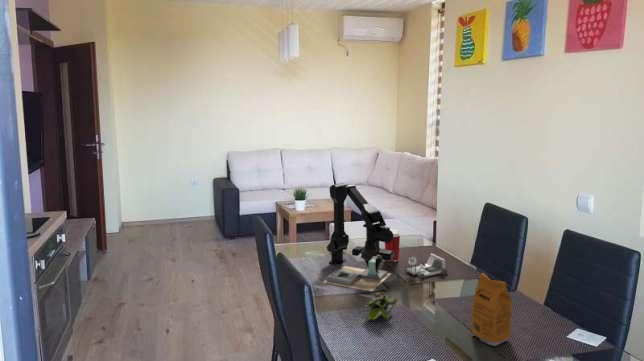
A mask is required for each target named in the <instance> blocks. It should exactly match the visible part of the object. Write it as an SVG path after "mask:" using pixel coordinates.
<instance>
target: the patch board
mask: <svg viewBox="0 0 644 361" xmlns="http://www.w3.org/2000/svg"><path fill="white" fill-rule="evenodd" d="M366 269H367V268H366ZM366 269H365V268H359V267H351V266H347V265H346V266H345V265H344V266H342V267H341V268H340V269H339V270H343V271H349V272H355V273H362V272H363V271H365V270H366ZM391 275H392V273H391V272H388V274H387V275H386V276H385V277H384V278H382V279H381V280H380V281H379V280H373V279H367V278H360V279H359V280H358V281H357V282H355V283H354V284H353V285H352V286H348V285H342V284H337V283H331V282H327V278H326V279H324V280H323V281H322V283H323V284H329V285H334V286H340V287H346V288H351V289H357V290H362V291H366V292H367V291H368V292H373V291H375V290H376V288H378V287H379V286H380V285H381V284H382V283H383V282H384V281H385V280H386V279H388V278H389V277H390V276H391ZM342 278H345V277H342Z"/></svg>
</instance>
